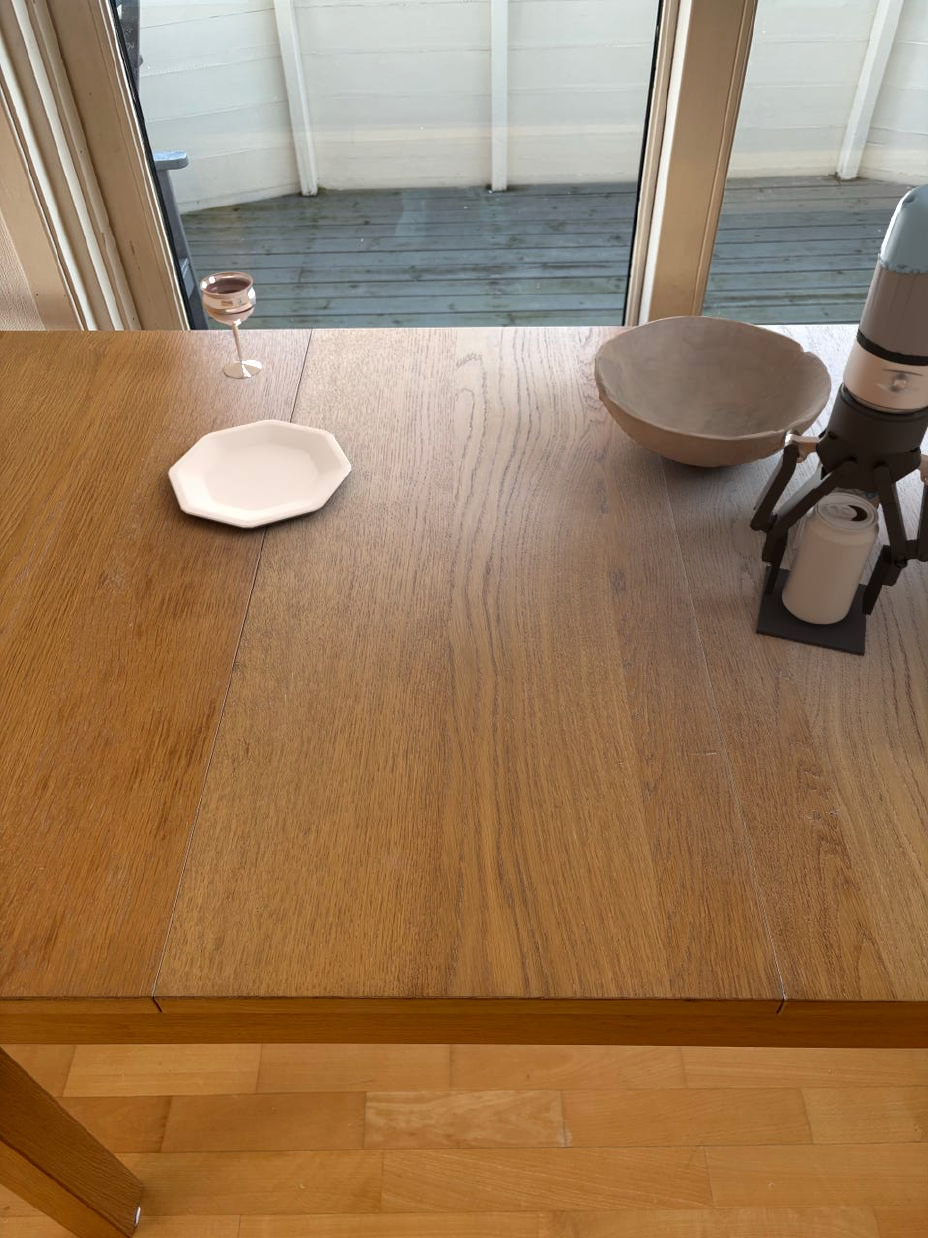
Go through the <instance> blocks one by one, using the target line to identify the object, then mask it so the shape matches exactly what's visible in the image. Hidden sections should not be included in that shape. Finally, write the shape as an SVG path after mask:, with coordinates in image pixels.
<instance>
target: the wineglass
mask: <svg viewBox="0 0 928 1238" xmlns="http://www.w3.org/2000/svg"><path fill="white" fill-rule="evenodd" d="M253 282H254V280H253V277H251V275H249V274H247V273H245V272H240V271H221V272H216V273H213V274H210V275H208V276H206V277H204V278H203V279H202V280H201V281H200V283H199V289H200V290H201V292H203V293H202V295H201V299H202V305H203V307H204V310H205V311H206V313H207V314H208V315H209V316H210V317H211V318H212V319H214V320H216V321H217V322H219V323H221V324H225V325H228V326H229V327H231V331H232V334H233V338H234V342H235V347H236V351H237V355H238V359H237V360H234V361H231V362H229V363H227V364H226V366H225V367H224V369H223V371H224V374H225V375H226V376H228V377H230V378H235V379H245V378H249V377H250V378H251V377H252V376H255V375H256V374H258V373H259V372H260V371H261V369H262V365H261V363H260V362H259V361H257V360H254V359H250V358H243V354H242V353H243V352H242V347H241V340H240V332H239V325H240V324H241V323H243V322H244V321H246V320H247V319H249V317H250V316H251V315H252V314H253V312H254V311H255V309H256V304H257V301H258V299H257V294H256V291H255V289H254V288H253Z"/></svg>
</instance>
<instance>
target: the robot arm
mask: <svg viewBox="0 0 928 1238" xmlns="http://www.w3.org/2000/svg"><path fill="white" fill-rule="evenodd" d="M871 279H872V280H871V284H870V287H869V290H868V293H867V297H866V301H865V304H864V307H863V311H862V315H861V318H860V320H859V324H858V328H857V330H856V333H855V335H854V338H853V342H852V345H851V348H850V350H849V354H848V356H847V360H846V362H845V363H846V364H845V366H844V370H843V374H842V382H841V384H840V385H839V387H838V390H837V393H836V397H835V400H834V403H833V406H832V410H831V413H830V416H829V419H828V423H827V425H826V426H825V428H824V430H822V431H821V432H819V434H818V435H817V436H810V435H809V436H807V435H801V436H800V433H799V432H798V431H797V430H790V431H788V432H787V433H786V436H785V443H784V449H782V455H781V456H780V458H779V460H778V462H777V464H776V465H775V467H774V469H773V471H772V473H771V475H770V476H769V478H768V479H767V482H766V484H765V486H763V489H762V491H761V492H760V495H759V496H758V498H757V500H756V502H755V504H754V505H753V507H752V510H751V516H750V521H749V528H750V529H751V530H752V531H754V532H762V533H764V534H765V538H764V540H763V544H762V548H761V555H760V561H761V562H762V563H765V564H769V565H768V566H769V569H768V573H767V576H766V583H765V590H764V594H767V595H772V593H773V590H774V586H775V583H776V580H777V576H778V573H779V570H780V568H781V567H782V563H783V560H784V557H785V554H786V550H787V547H788V543H789V533H790V530H791V528H792V527H794V526H795V524H797V522H799V521H801V518H802V517H803V516H804V515H805V514H806V513H807V512H808V511H809V510H810V509H811V508H812V507H813V506H814V505H815V504H816V503H817V502H818V501H819V500H820V499H821V498H823V497H824V496H827V495H829V494H830V493H831V492H832V491H833V490H834V489H835V488H836V487H837V488H843V489H858V490H861V491H863V492H866V493H871V494H875V492H876V491H878V496H879V500H880V504H879V506H880V507H881V510H882V514H883V519H884V523H885V529H886V533H887V539H888V542H889V544H885V543H883V544H882V546H881V549H880V552H879V554H878V556H877V560H876V562H875V565H874V566H873V569H872V572H871V574H870V577H869V579H868V582H867V584H866V585H867V587H866V589H865V592H864V594H863V609H862V614H865V615H866V616H872V613H873V610H874V608H875V606H876V603H877V601H878V598H879V596H880V594H881V591H882V589H883V586H884V587H889V588H893V587H894V586H895V585H896V584H897V582H898V580H899V578H900V575H901V573H902V571H903V569H905V568H907V567H908V565H909V564H908V563H909V561H914V560H917V561H919V563H927V562H928V455H927V454H924V453H922V450H921V446H922V443H923V441H924V438H925V435H926V434H927V433H926V432H927V430H928V183H924V184H922V185H919V186H916V187H914V188H912V189H911V190H909V191H907V193H905V194H904V195H903V196H902V198H901V199H900V201H899V203H898V204H897V206H896V209H895V211H894V213H893V216H892V217H891V220H890V223H889V225H888V228H887V230H886V234H885V235H884V239H883V242H882V244H881V246H880V247H879V250H878V254H877V262H876V266H875V269H874V273H873V276H872V278H871ZM813 453H816V455H817V456H818V460H819V459H820V461H821V463H822V464H821V465H820V466H819V467H818V469H817V468H816V469H817V470H815V472H814V474H813V475H811V477H810V478H808V479H807V480H806V481H805V482H804V484H803V485H801V486H800V487H799V488H798V490H796V491H795V493H793V494H792V495H791V496H790V497H789V498H788V499H787V500H786V502H784V503H783V504H782V505H781V506H780V507H779V508H778V509H777V510H775V512H774V511H773V510H774V509H775V507H776V506H777V504H778V502H779V500H780V498H781V497H782V495H783V493H784V491H785V490H786V488H787V487H788V484H789V483H790V481H791V479H792V478H793V476H794V474H795V471H796V468H797V464H802V463H803V462H805V461H806V460H807V459H808V457H809V455H810V454H813ZM916 470H918V471H919V478H920V481H921V482H922V483H923V489H922V496H921V503H920V510H919V515H918V516H919V518H918V524H917V532H916V538H915V539H908V537H907V531H906V527H905V522H904V517H903V512H902V508H901V502H900V498H899V497H900V496H899V492H898V487H897V482H899V481H900V480H902V479H904V478H906V477H907V476H908V475H910V474H912V473H913V472H915V471H916Z"/></svg>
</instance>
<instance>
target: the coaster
mask: <svg viewBox="0 0 928 1238" xmlns="http://www.w3.org/2000/svg"><path fill="white" fill-rule="evenodd" d="M769 566H770V565H768V564H766V566H765V569H764V576H763V584H762V590H761V596H760V603H759V608H758V609H759V610H758V616H757V621H756V629H755V634H759V635H763V636H769V637H773V638H777V639H782V640H787V641H792V642H796V643H801V644H806V645H811V646H815V647H819V648H824V649H825V648H826V649H829V650H834V651H839V652H844V653H848V654H853V655H859V656H865V654H866V637H867V636H866V635H867V634H866V633H867V615H865V614H862V609H863V594H864V592H865V589H866V587H867V584H864V583H861V582H860V583H859V585H858V588H857V591H856V593H855V596H854V599H853V601H852V604H851V606H850V609H849V612H848V613H847V615H846V616H845V617H844V618H843V619H842V620H840V621H838V622H835V623H831V624H814V623H809V622H806V621H803V620H801V619H799V618H797V617H796V616H795V615H793V614H792V613H791V612H790V611H789V610H788V609H787V608H786V606H785V605H784V603H783V599H782V593H783V589H784V586H785V583H786V580H787V576H788V573H789V570H790V569H788V568H783V567H780V570H779V573H778V576H777V580H776V583H775V586H774V590H773V593H772V595H767V594H764V590H765V583H766V576H767V573H768V569H769Z"/></svg>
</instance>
